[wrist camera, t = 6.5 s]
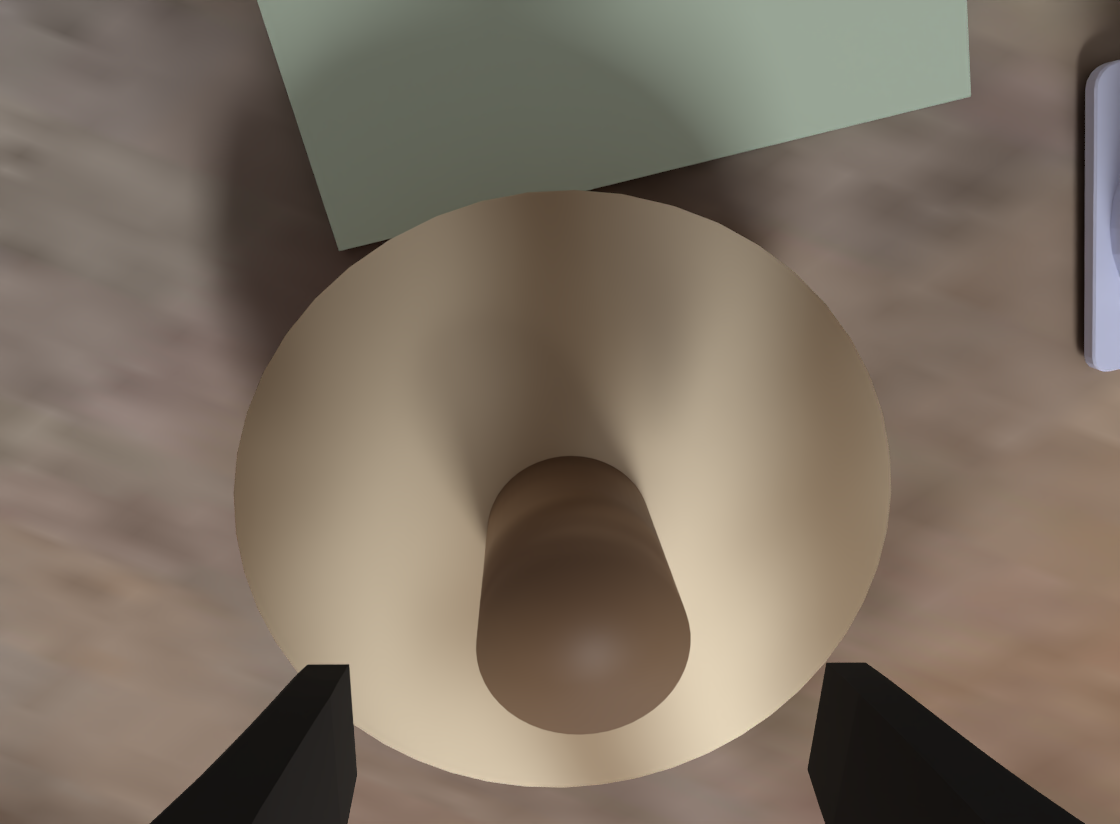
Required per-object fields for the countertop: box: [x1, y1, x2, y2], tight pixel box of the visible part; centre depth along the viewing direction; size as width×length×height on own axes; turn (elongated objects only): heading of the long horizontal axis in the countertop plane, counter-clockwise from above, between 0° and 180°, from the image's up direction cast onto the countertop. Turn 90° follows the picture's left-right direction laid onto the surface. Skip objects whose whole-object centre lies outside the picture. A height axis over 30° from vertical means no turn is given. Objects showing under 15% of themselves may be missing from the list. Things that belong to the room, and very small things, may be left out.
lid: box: [234, 190, 891, 787], centre depth 14 cm, size 14×14×5 cm
